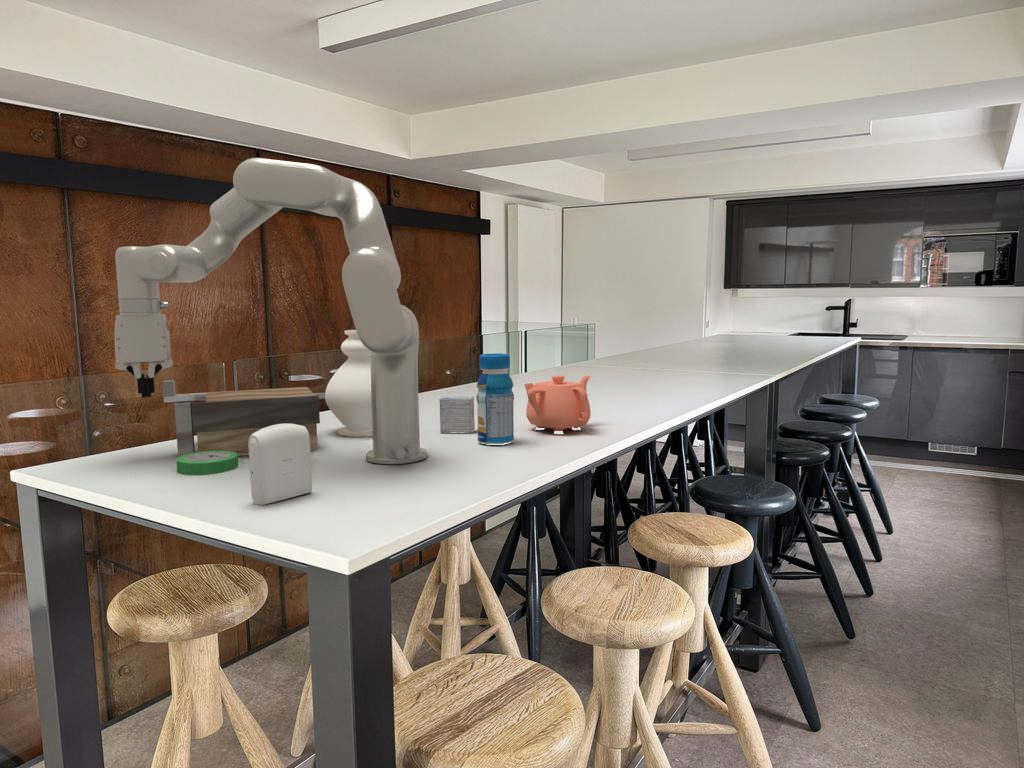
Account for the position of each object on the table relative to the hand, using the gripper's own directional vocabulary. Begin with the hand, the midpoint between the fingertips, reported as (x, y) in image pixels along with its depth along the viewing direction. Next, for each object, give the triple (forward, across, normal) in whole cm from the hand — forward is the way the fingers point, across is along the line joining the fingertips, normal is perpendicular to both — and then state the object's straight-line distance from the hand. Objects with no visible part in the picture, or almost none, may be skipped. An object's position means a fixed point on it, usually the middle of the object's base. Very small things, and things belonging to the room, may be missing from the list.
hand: (146, 396), depth 149 cm
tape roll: (+13, -11, +15) cm, 23 cm away
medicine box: (+13, -67, 0) cm, 69 cm away
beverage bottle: (+13, -71, +16) cm, 74 cm away
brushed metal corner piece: (+1, -7, 0) cm, 7 cm away
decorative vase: (+13, -46, -10) cm, 49 cm away
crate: (+13, -19, -4) cm, 24 cm away
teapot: (+13, -91, +7) cm, 93 cm away
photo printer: (+13, -23, +43) cm, 51 cm away
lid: (+7, -21, -3) cm, 23 cm away
